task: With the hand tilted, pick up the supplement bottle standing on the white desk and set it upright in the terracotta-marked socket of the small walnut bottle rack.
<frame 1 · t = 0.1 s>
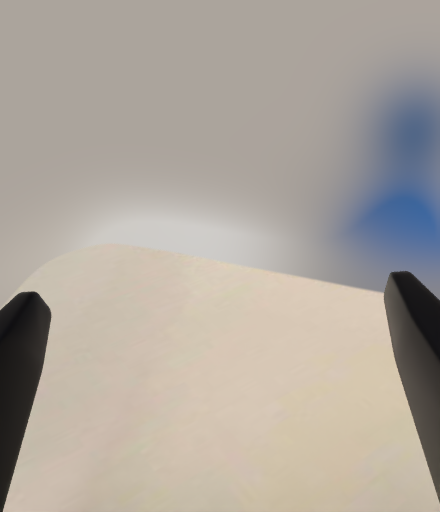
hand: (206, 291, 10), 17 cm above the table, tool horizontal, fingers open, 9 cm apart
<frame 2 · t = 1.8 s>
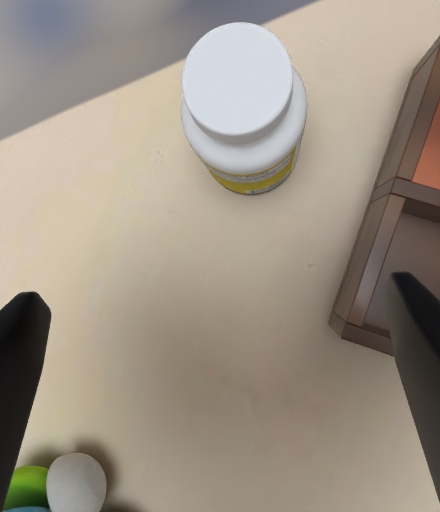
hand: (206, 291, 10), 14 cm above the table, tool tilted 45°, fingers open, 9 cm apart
supplement bottle: (251, 153, 23), on the table
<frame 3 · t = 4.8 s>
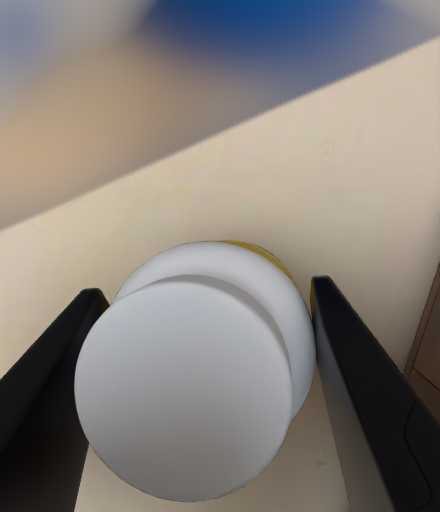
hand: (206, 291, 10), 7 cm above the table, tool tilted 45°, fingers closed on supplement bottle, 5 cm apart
supplement bottle: (232, 303, 17), on the table, touching gripper
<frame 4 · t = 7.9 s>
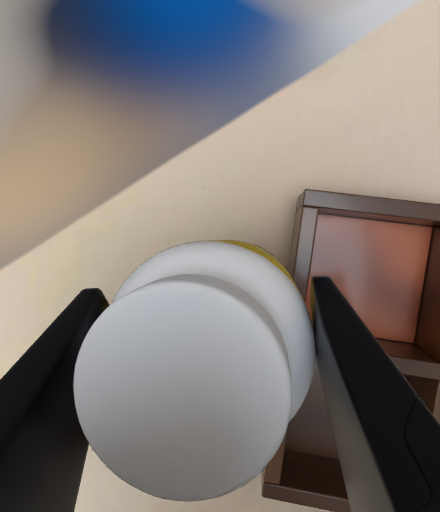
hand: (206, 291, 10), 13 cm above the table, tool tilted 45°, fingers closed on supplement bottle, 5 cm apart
supplement bottle: (232, 303, 17), point 6 cm above the table, touching gripper
rack: (349, 338, 23), on the table
when the fingers open (7 cm above the table, at t = 11.1 s): supplement bottle stays where it is, resting on rack.
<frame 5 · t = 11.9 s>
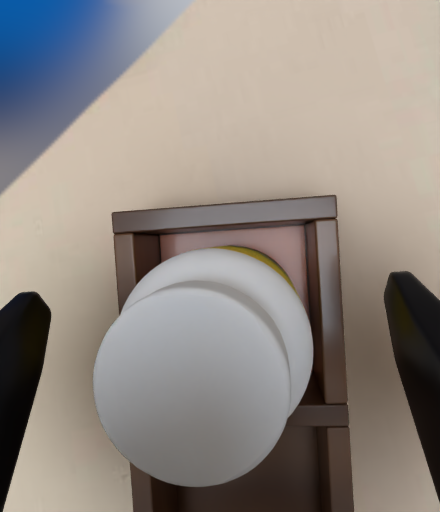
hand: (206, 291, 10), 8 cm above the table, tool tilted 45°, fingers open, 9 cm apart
supplement bottle: (234, 305, 17), point 1 cm above the table, touching rack
rack: (241, 377, 18), on the table
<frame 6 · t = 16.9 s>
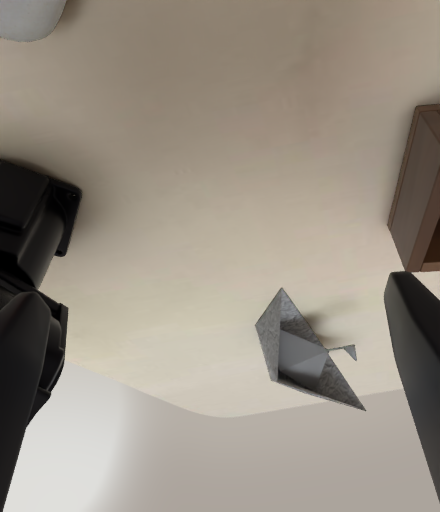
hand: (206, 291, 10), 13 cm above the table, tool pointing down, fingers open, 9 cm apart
paper boat: (307, 324, 34), on the table
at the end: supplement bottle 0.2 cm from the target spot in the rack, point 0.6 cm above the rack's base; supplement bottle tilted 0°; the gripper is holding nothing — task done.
